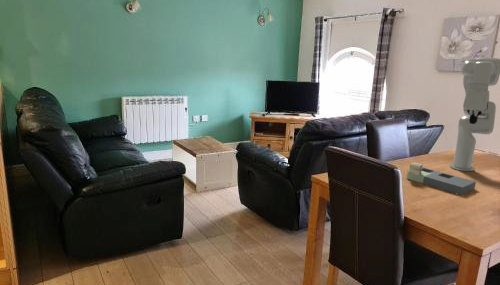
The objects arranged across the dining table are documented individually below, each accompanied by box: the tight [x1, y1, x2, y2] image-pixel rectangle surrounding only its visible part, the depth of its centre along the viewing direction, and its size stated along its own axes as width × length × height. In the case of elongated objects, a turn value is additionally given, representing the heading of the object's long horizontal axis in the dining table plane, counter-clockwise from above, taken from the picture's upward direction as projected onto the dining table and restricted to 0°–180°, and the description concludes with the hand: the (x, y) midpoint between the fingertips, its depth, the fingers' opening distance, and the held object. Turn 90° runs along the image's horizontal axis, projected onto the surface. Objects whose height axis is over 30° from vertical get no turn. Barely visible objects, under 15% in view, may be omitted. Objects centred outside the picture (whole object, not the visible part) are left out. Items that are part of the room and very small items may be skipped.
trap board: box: [406, 166, 477, 196], centre depth 189 cm, size 15×28×4 cm, turn 37°
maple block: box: [408, 161, 423, 175], centre depth 192 cm, size 5×5×5 cm
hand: (472, 123), depth 184 cm, fingers closed
